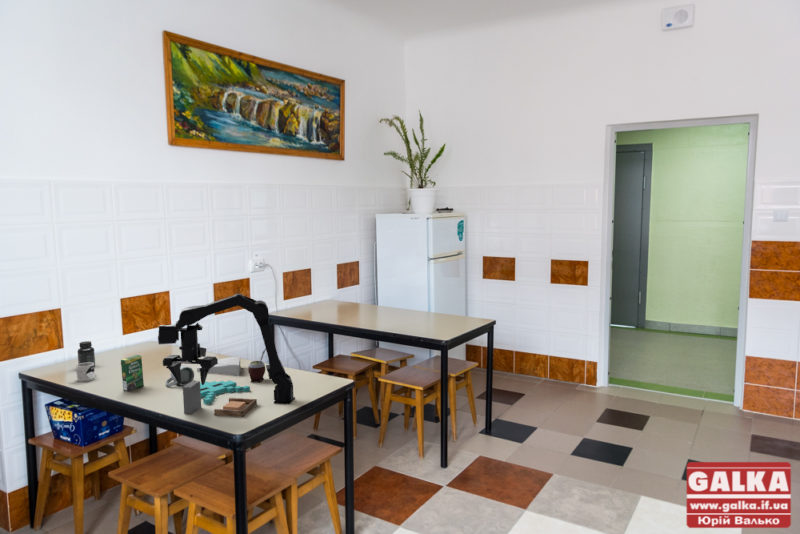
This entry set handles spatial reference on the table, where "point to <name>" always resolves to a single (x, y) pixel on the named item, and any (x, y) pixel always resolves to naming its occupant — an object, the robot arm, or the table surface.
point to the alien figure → (219, 389)
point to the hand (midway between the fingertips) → (191, 384)
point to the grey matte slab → (192, 397)
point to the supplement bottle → (86, 353)
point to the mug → (85, 372)
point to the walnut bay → (241, 413)
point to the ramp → (226, 367)
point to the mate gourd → (257, 370)
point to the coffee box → (132, 373)
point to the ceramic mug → (182, 376)
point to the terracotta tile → (234, 405)
